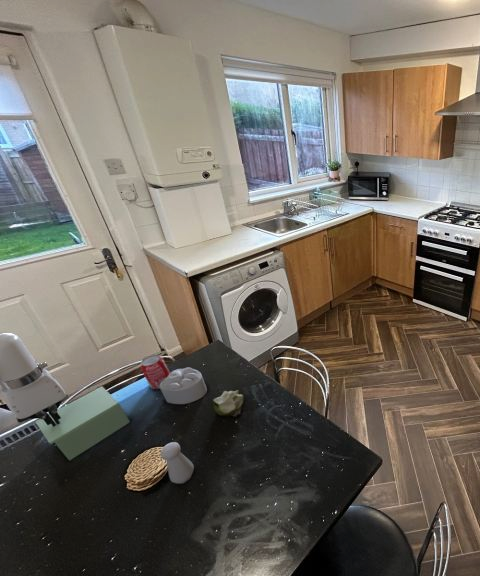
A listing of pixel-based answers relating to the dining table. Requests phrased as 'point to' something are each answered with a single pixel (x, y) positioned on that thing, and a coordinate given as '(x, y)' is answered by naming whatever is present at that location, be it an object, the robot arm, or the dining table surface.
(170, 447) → the salt shaker
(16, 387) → the robot arm
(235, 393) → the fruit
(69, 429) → the lid
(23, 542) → the dining table surface
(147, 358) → the soda can
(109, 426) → the chest
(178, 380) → the lumpy-topped squat cylinder
